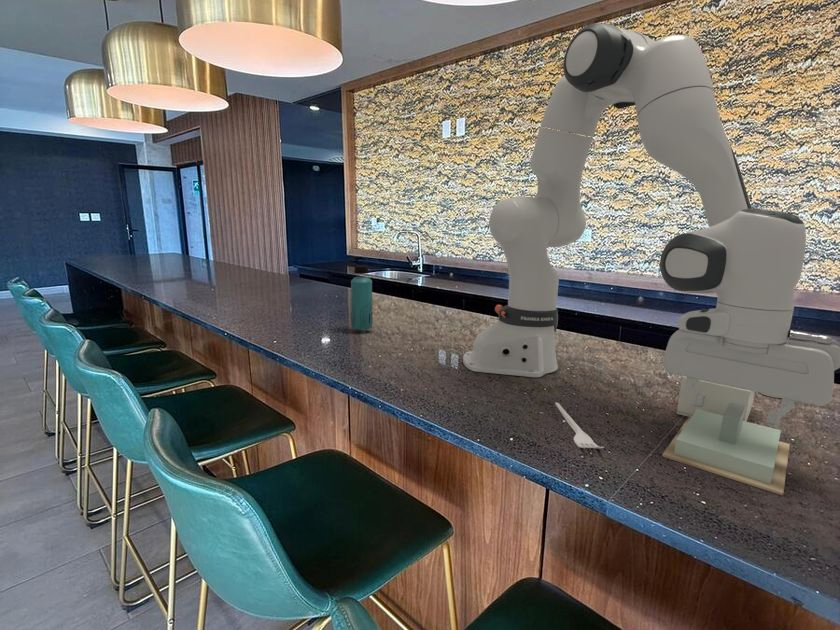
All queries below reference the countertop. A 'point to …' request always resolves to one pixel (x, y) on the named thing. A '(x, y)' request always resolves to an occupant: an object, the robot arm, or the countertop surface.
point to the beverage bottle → (361, 300)
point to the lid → (730, 443)
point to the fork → (578, 432)
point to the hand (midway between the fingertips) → (733, 414)
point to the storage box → (714, 398)
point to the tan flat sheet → (774, 487)
